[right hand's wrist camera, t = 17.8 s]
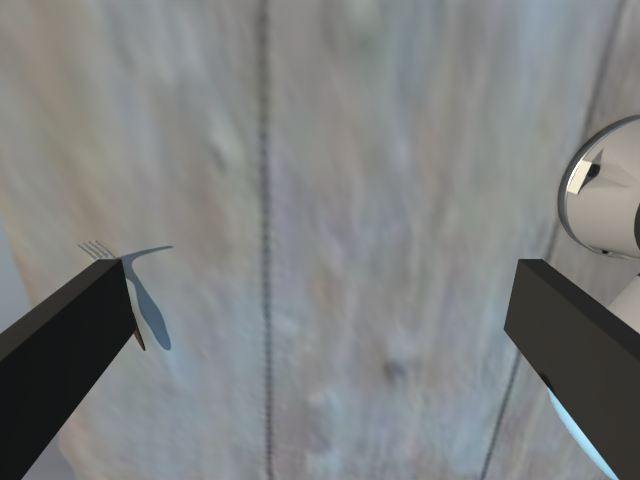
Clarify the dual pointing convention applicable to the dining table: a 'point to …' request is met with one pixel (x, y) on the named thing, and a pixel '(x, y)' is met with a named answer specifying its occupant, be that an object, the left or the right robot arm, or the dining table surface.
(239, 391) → the dining table surface
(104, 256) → the fork
